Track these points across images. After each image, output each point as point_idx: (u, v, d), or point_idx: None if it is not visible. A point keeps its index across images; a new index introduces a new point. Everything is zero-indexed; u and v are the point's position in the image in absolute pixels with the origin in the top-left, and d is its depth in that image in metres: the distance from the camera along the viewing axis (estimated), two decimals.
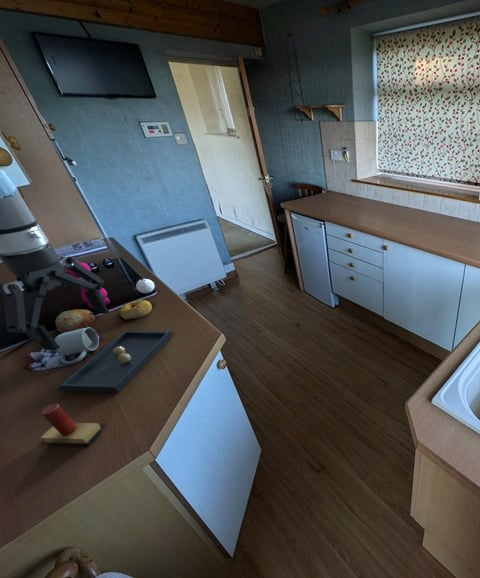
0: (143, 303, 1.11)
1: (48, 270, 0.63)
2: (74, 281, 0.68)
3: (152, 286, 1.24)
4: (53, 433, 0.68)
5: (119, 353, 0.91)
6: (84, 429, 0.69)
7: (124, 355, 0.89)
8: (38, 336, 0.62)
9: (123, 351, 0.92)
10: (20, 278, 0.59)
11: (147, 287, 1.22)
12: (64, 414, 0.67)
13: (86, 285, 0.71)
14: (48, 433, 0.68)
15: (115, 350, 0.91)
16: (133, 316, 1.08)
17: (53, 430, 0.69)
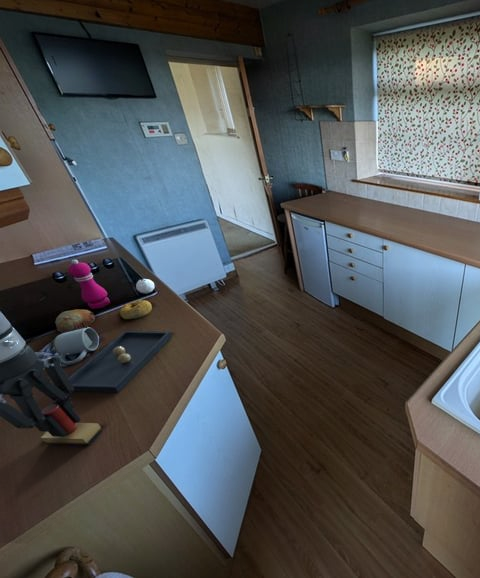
0: (143, 303, 1.11)
1: (25, 372, 0.59)
2: (47, 386, 0.63)
3: (152, 286, 1.24)
4: None
5: (119, 353, 0.91)
6: (84, 429, 0.69)
7: (124, 355, 0.89)
8: (47, 427, 0.64)
9: (123, 351, 0.92)
10: None
11: (147, 287, 1.22)
12: (64, 414, 0.67)
13: (56, 393, 0.65)
14: (48, 433, 0.68)
15: (115, 350, 0.91)
16: (133, 316, 1.08)
17: None
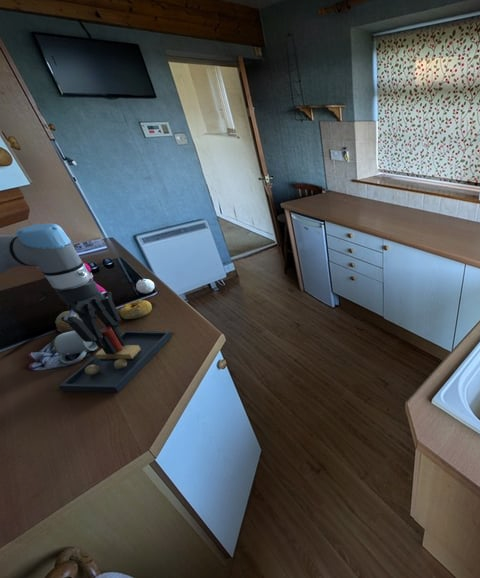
0: (143, 303, 1.11)
1: (90, 299, 0.80)
2: (103, 312, 0.84)
3: (152, 286, 1.24)
4: None
5: (93, 369, 0.85)
6: (129, 348, 0.90)
7: (121, 366, 0.87)
8: (103, 344, 0.84)
9: (97, 370, 0.86)
10: (70, 306, 0.76)
11: (147, 287, 1.22)
12: (115, 335, 0.87)
13: (109, 320, 0.86)
14: (100, 351, 0.88)
15: (92, 365, 0.85)
16: (133, 316, 1.08)
17: None
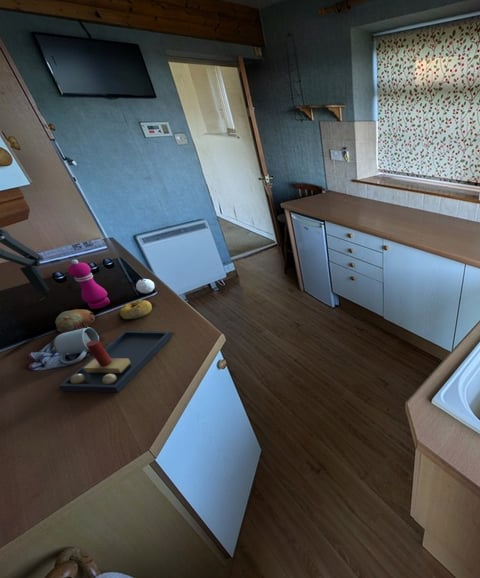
0: (143, 303, 1.11)
1: None
2: (5, 255, 0.65)
3: (152, 286, 1.24)
4: (93, 365, 0.85)
5: (80, 382, 0.82)
6: (118, 362, 0.86)
7: (115, 376, 0.84)
8: None
9: (80, 379, 0.82)
10: None
11: (147, 287, 1.22)
12: (103, 348, 0.84)
13: (20, 260, 0.68)
14: (89, 365, 0.85)
15: None
16: (133, 316, 1.08)
17: (92, 363, 0.86)
